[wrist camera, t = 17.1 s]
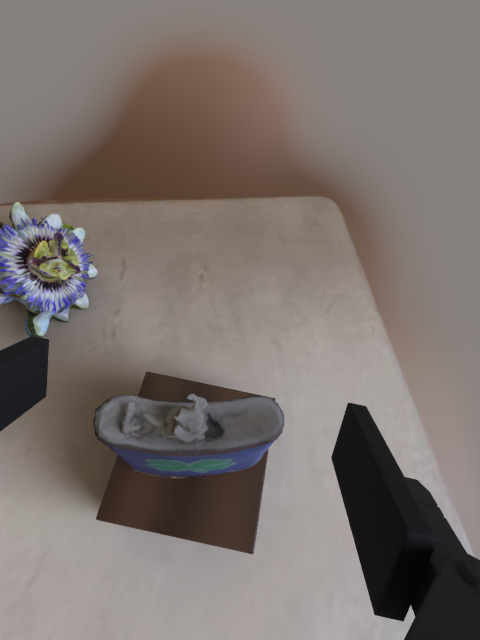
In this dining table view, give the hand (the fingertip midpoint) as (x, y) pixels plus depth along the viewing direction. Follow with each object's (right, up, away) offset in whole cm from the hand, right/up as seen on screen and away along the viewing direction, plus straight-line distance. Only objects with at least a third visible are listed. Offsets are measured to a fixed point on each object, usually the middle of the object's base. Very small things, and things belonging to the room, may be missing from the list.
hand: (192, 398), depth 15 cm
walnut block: (-2, -9, +14) cm, 17 cm away
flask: (-1, -6, +9) cm, 11 cm away
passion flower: (-18, +6, +21) cm, 28 cm away
